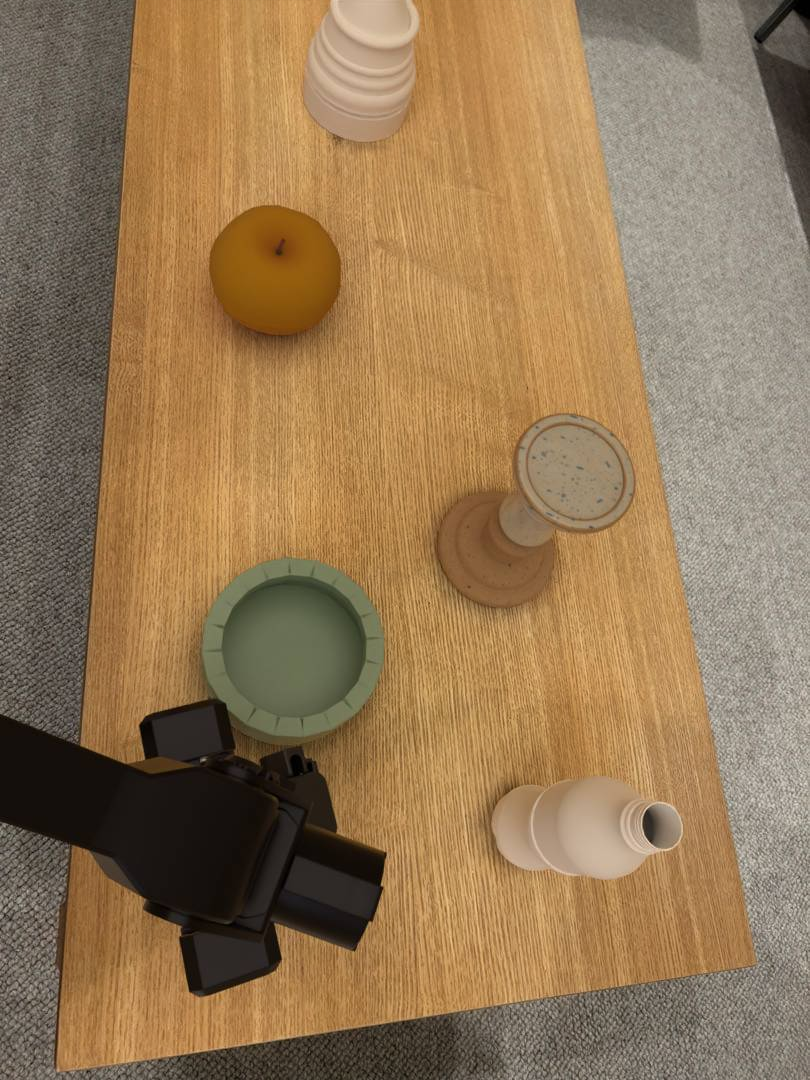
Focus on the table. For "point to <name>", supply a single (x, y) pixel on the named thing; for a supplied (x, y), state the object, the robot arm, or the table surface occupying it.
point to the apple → (275, 270)
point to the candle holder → (536, 510)
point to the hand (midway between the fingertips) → (208, 838)
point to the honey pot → (362, 68)
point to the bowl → (292, 650)
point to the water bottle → (583, 827)
